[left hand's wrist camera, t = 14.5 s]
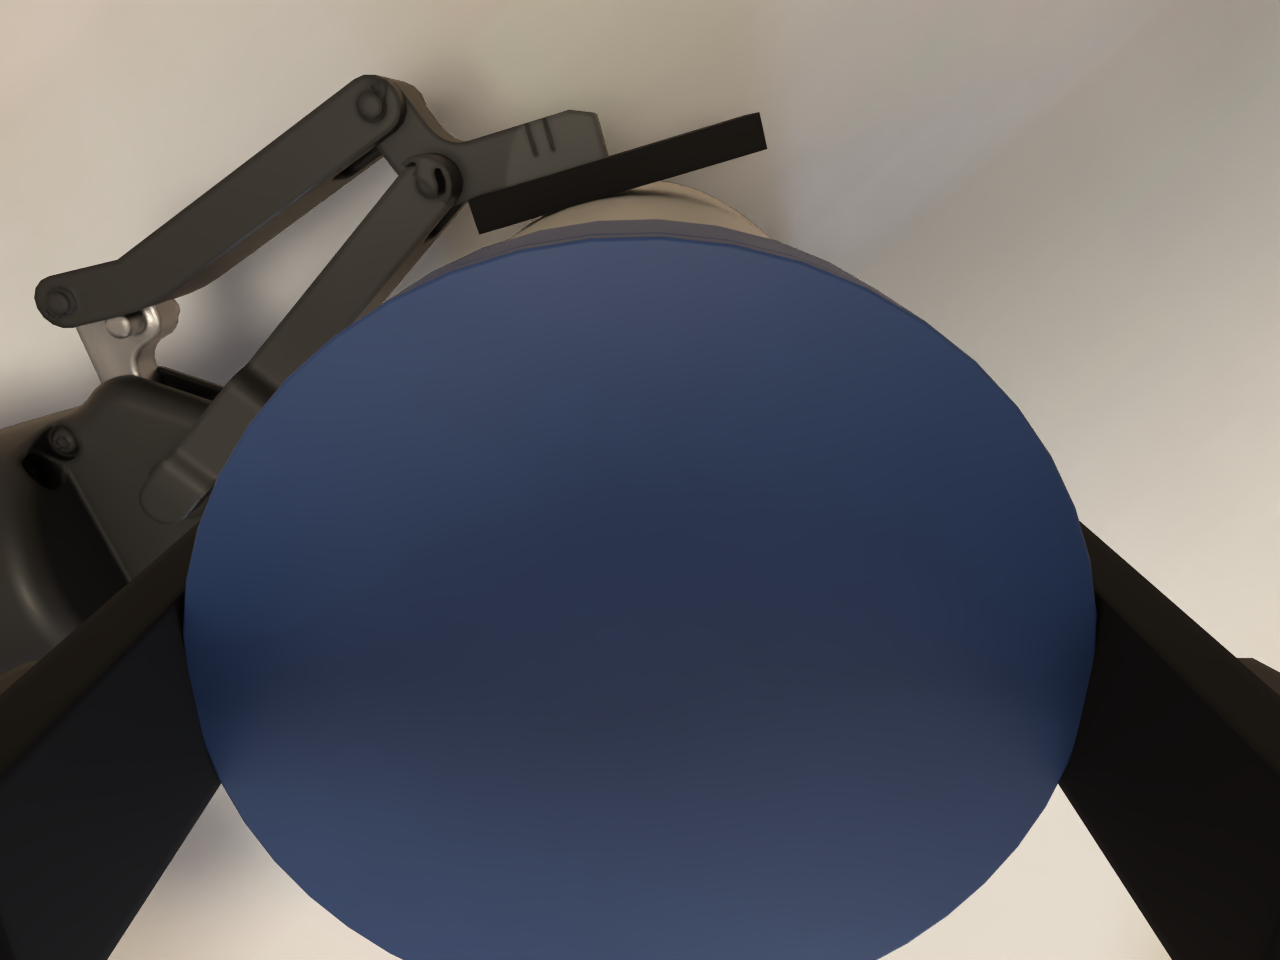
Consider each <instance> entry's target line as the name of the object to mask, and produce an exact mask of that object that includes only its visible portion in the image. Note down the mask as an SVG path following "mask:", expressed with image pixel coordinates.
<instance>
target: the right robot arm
mask: <svg viewBox="0 0 1280 960" xmlns="http://www.w3.org/2000/svg"><path fill="white" fill-rule="evenodd" d="M765 149H767V146H766V141H765V136H764V132H763V127H762V122H761V118H760V113H759V112H758V113H753V114H748V115H744V116H741V117H737V118H734V119H731V120H727V121H724V122H721V123H718V124H714V125H711V126H708V127H704V128H701V129H698V130H694V131H691V132H688V133H684V134H681V135H678V136H675V137H671V138H668V139H665V140H661V141H658V142H655V143H651V144H648V145H645V146H641V147H638V148H635V149H631V150H628V151H625V152H622V153H618V154H615V155H612V156H608V152H607V148H606V145H605V141H604V138H603V134H602V130H601V127H600V123H599V119H598V116H597V114H595V113H592V112H583V111H574V110H567V111H564V112H561V113H558V114H555V115H551V116H548V117H545V118H542V119H538V120H535V121H532V122H529V123H526V124H522V125H519V126H516V127H512V128H509V129H506V130H503V131H500V132H496V133H493V134H490V135H487V136H483V137H480V138H477V139H474V140H470V141H466V142H464V141H461V140H458V139H455V138H454V137H452V136H451V135H449V134H448V133H447V132H446V131H445V130H444V129H443V128H442V127H441V125H440V124H439V123H438V121H437V120H436V119H435V117H434V116H433V115H432V113H431V112H430V111H429V109H428V108H427V107H426V103H425V101H424V99H423V96H422V94H421V93H420V92H419V91H418V90H417V89H416V88H415V87H414V86H412V85H410V84H408V83H406V82H403V81H399V80H394V79H390V78H386V77H382V76H377V75H363V76H360V77H358V78H356V79H354V80H353V81H351V82H350V83H349V84H347V85H346V86H345V87H343V88H342V89H341V90H339V91H338V92H337V93H336V94H334V95H333V96H332V97H330V98H329V99H328V100H326V101H325V102H324V103H322V104H321V105H320V106H319V107H317V108H316V109H315V110H313V111H312V112H311V113H309V114H308V115H307V116H305V117H304V118H303V119H301V120H300V121H299V122H298V123H296V124H295V125H294V126H292V127H291V128H290V129H288V130H287V131H286V132H284V133H283V134H282V135H280V136H279V137H278V138H277V139H275V140H274V141H273V142H271V143H270V144H269V145H267V146H266V147H265V148H263V149H262V150H261V151H260V152H258V153H257V154H256V155H254V156H253V157H252V158H250V159H249V160H248V161H246V162H245V163H244V164H242V165H241V166H240V167H239V168H237V169H236V170H235V171H233V172H232V173H231V174H229V175H228V176H227V177H225V178H224V179H223V180H221V181H220V182H219V183H218V184H216V185H215V186H214V187H212V188H211V189H210V190H208V191H207V192H206V193H204V194H203V195H202V196H201V197H199V198H198V199H197V200H195V201H194V202H193V203H191V204H190V205H189V206H187V207H186V208H185V209H183V210H182V211H181V212H180V213H178V214H177V215H176V216H174V217H173V218H172V219H170V220H169V221H168V222H166V223H165V224H164V225H162V226H161V227H160V228H159V229H157V230H156V231H155V232H153V233H152V234H151V235H149V236H148V237H147V238H145V239H144V240H143V241H142V242H140V243H139V244H138V245H136V246H135V247H134V248H132V249H131V250H130V251H128V252H127V253H126V254H124V255H123V256H122V257H121V258H119V259H118V260H115V261H110V262H106V263H102V264H98V265H94V266H90V267H86V268H81V269H77V270H73V271H69V272H65V273H61V274H57V275H52V276H49V277H47V278H45V279H43V280H41V281H40V282H39V284H38V285H37V287H36V289H35V297H34V298H35V302H36V305H37V308H38V310H39V311H40V313H41V314H42V316H43V317H44V318H45V319H47V320H48V321H49V322H50V323H52V324H53V325H56V326H59V327H62V328H74V327H76V329H77V331H78V333H79V336H80V338H81V340H82V342H83V344H84V346H85V349H86V351H87V353H88V355H89V357H90V359H91V361H92V364H93V366H94V368H95V370H96V372H97V374H98V377H99V379H100V381H101V383H102V384H101V385H100V386H98V387H97V388H96V389H95V390H94V392H93V393H92V394H91V396H90V397H89V398H88V400H87V401H86V402H85V403H84V404H83V405H81V406H78V407H75V408H71V409H68V410H64V411H61V412H58V413H54V414H51V415H47V416H44V417H40V418H37V419H33V420H30V421H26V422H23V423H20V424H16V425H13V426H9V427H6V428H2V429H0V675H2V674H4V673H6V672H8V671H10V670H12V669H14V668H16V667H17V666H19V665H21V664H23V663H25V662H27V661H40V660H41V659H42V658H43V657H44V656H45V655H47V654H48V653H49V652H50V651H51V650H52V649H53V648H55V647H56V646H57V645H58V644H59V643H60V642H61V641H63V640H64V639H65V638H66V637H67V636H68V635H69V634H71V633H72V632H73V631H74V630H75V629H76V628H77V627H79V626H80V625H81V624H82V623H83V622H84V621H85V620H87V619H88V618H89V617H90V616H91V615H92V614H94V613H95V612H96V611H97V610H98V609H99V608H100V607H102V606H103V605H104V604H105V603H106V602H107V601H108V600H110V599H111V598H112V597H113V596H114V595H115V594H116V593H118V592H119V591H120V590H121V589H122V588H123V587H124V586H126V585H127V584H128V583H129V582H130V581H131V580H132V579H134V578H135V577H136V576H137V575H138V574H139V573H141V572H142V571H143V570H144V569H145V568H146V567H147V566H149V565H150V564H151V563H152V562H153V561H154V560H155V559H157V558H158V557H159V556H160V555H161V554H162V553H163V552H165V551H166V550H167V549H168V548H169V547H170V546H171V545H173V544H174V543H175V542H176V541H177V540H178V539H179V538H181V537H182V536H183V535H184V534H185V533H186V532H187V531H189V530H190V529H191V528H192V527H193V526H194V525H196V524H197V523H198V522H199V521H200V520H201V518H202V515H203V513H204V510H205V508H206V505H207V503H208V500H209V498H210V495H211V492H212V490H213V487H214V485H215V482H216V480H217V477H218V475H219V473H220V472H221V470H222V468H223V467H224V465H225V463H226V461H227V460H228V458H229V456H230V455H231V453H232V451H233V450H234V448H235V446H236V445H237V443H238V441H239V439H240V438H241V436H242V434H243V433H244V431H245V429H246V428H247V426H248V425H249V423H250V422H251V421H252V420H253V418H254V417H255V416H256V415H257V414H258V412H259V411H260V410H261V409H262V408H263V406H264V405H265V404H266V403H267V401H268V400H269V399H270V398H271V397H272V395H273V394H274V393H275V392H276V391H277V389H278V388H279V387H280V386H281V384H282V383H283V382H284V381H285V380H286V378H288V377H289V376H290V375H291V374H292V373H293V372H294V371H295V370H296V369H298V368H299V367H300V366H301V365H302V364H303V363H304V362H305V361H307V360H308V359H309V358H310V357H311V356H312V355H313V354H314V353H315V352H317V351H318V350H319V349H320V348H321V347H322V346H323V345H324V344H326V343H327V342H328V341H329V340H330V339H331V338H332V337H333V336H335V335H336V334H338V333H339V332H341V331H342V330H344V329H345V328H347V327H348V326H350V325H351V324H353V323H354V322H356V321H357V320H359V319H360V318H362V317H364V316H365V315H367V314H368V313H370V312H371V311H373V310H374V309H376V308H377V307H379V306H380V305H381V304H382V303H383V302H384V300H385V299H386V298H387V297H388V296H389V294H390V293H391V292H392V291H393V290H394V288H395V287H396V286H397V285H398V284H399V283H400V281H401V280H402V279H403V278H404V277H405V275H406V274H407V273H408V272H409V271H410V269H411V268H412V267H413V266H414V265H415V263H416V262H417V261H418V260H419V259H420V258H421V256H422V255H423V254H424V253H425V252H426V250H427V249H428V248H429V247H430V246H431V244H432V243H433V242H434V241H435V240H436V238H437V237H438V236H439V235H440V234H441V233H442V231H443V230H444V229H445V228H446V227H447V225H448V224H449V223H450V222H451V221H452V219H453V218H454V217H455V216H456V215H457V213H458V212H459V211H460V210H461V209H462V208H463V206H464V205H465V204H466V203H467V202H469V205H470V208H471V211H472V214H473V217H474V220H475V223H476V226H477V229H478V232H479V234H483V233H486V232H489V231H493V230H496V229H499V228H503V227H506V226H510V225H513V224H516V223H520V222H523V221H526V220H530V219H533V218H536V217H540V216H543V215H546V214H550V213H553V212H557V211H560V210H563V209H567V208H569V207H573V206H577V205H580V204H583V203H587V202H590V201H594V200H597V199H600V198H604V197H607V196H610V195H614V194H617V193H620V192H624V191H627V190H631V189H634V188H637V187H641V186H644V185H647V184H651V183H654V182H657V181H661V180H664V179H668V178H671V177H674V176H678V175H681V174H684V173H688V172H691V171H694V170H698V169H701V168H705V167H708V166H711V165H715V164H718V163H721V162H725V161H728V160H731V159H735V158H738V157H742V156H745V155H748V154H752V153H755V152H758V151H762V150H765ZM382 157H385V159H386V160H387V161H388V163H389V164H390V165H391V166H392V168H393V169H394V170H395V172H396V173H397V174H398V175H399V176H398V177H397V179H396V180H395V181H394V182H393V184H392V185H391V186H390V187H389V189H388V190H387V191H386V192H385V194H384V195H383V196H382V197H381V198H380V200H379V201H378V202H377V203H376V205H375V206H374V207H373V208H372V210H371V211H370V212H369V213H368V215H367V216H366V217H365V218H364V220H363V221H362V222H361V223H360V225H359V226H358V227H357V228H356V230H355V231H354V232H353V233H352V235H351V236H350V237H349V238H348V240H347V241H346V242H345V243H344V244H343V246H342V247H341V248H340V249H339V251H338V252H337V253H336V254H335V256H334V257H333V258H332V259H331V261H330V262H329V263H328V264H327V266H326V267H325V268H324V269H323V271H322V272H321V273H320V274H319V276H318V277H317V278H316V279H315V281H314V282H313V283H312V284H311V286H310V287H309V288H308V289H307V290H306V292H305V293H304V294H303V295H302V297H301V298H300V299H299V300H298V302H297V303H296V304H295V305H294V307H293V308H292V309H291V310H290V312H289V313H288V314H287V315H286V317H285V318H284V319H283V320H282V322H281V323H280V324H279V325H278V327H277V328H276V329H275V330H274V332H273V333H272V334H271V335H270V336H269V338H268V339H267V340H266V341H265V343H264V344H263V345H262V346H261V348H260V349H259V350H258V351H257V353H256V354H255V355H254V356H253V358H252V359H251V360H250V361H249V362H248V363H247V364H246V365H245V367H243V368H242V369H241V370H240V371H239V372H238V373H237V374H236V375H235V376H234V377H233V378H232V379H231V380H230V381H229V382H228V383H227V384H226V385H225V386H224V387H223V386H220V385H217V384H214V383H211V382H208V381H205V380H202V379H199V378H196V377H193V376H190V375H187V374H184V373H181V372H178V371H175V370H172V369H169V368H166V367H162V366H157V363H156V360H155V348H156V346H157V344H158V342H159V341H160V340H161V339H162V338H164V337H165V336H167V335H169V334H170V333H172V332H173V331H174V330H175V328H176V327H177V324H178V316H179V313H180V308H179V305H178V303H177V302H176V300H174V299H175V298H178V297H181V296H183V295H186V294H189V293H191V292H194V291H196V290H198V289H200V288H202V287H204V286H206V285H208V284H209V283H211V282H212V281H214V280H215V279H217V278H219V277H220V276H221V275H223V274H224V273H225V272H227V271H228V270H230V269H231V268H232V267H234V266H235V265H236V264H238V263H239V262H240V261H242V260H243V259H245V258H246V257H247V256H249V255H250V254H251V253H253V252H254V251H255V250H257V249H258V248H260V247H261V246H262V245H264V244H265V243H266V242H268V241H269V240H270V239H272V238H273V237H275V236H276V235H277V234H279V233H280V232H281V231H283V230H284V229H285V228H287V227H288V226H290V225H291V224H292V223H294V222H295V221H296V220H298V219H299V218H300V217H302V216H303V215H305V214H306V213H307V212H309V211H310V210H311V209H313V208H314V207H315V206H317V205H318V204H320V203H321V202H322V201H324V200H325V199H326V198H328V197H329V196H330V195H332V194H333V193H335V192H336V191H337V190H339V189H340V188H341V187H343V186H344V185H345V184H347V183H348V182H349V181H351V180H352V179H354V178H355V177H356V176H358V175H359V174H360V173H362V172H363V171H364V170H366V169H367V168H369V167H370V166H371V165H373V164H374V163H375V162H377V161H378V160H379V159H381V158H382Z"/></svg>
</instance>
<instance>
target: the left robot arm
mask: <svg viewBox="0 0 1280 960" xmlns="http://www.w3.org/2000/svg"><path fill="white" fill-rule="evenodd" d="M200 521H201V520H200ZM200 521H199V522H198V523H197V524H196V525H194V526H193V527H192V528H191V529H190V530H189V531H187V532H186V533H185V534H184V535H183V536H182V537H181V538H179V539H178V540H177V541H176V542H175V543H174V544H173V545H171V546H170V547H169V548H168V549H167V550H166V551H165V552H163V553H162V554H161V555H160V556H159V557H158V558H157V559H155V560H154V561H153V562H152V563H151V564H150V565H149V566H147V567H146V568H145V569H144V570H143V571H142V572H141V573H139V574H138V575H137V576H136V577H135V578H134V579H132V580H131V581H130V582H129V583H128V584H127V585H126V586H124V587H123V588H122V589H121V590H120V591H119V592H118V593H116V594H115V595H114V596H113V597H112V598H111V599H110V600H108V601H107V602H106V603H105V604H104V605H103V606H102V607H100V608H99V609H98V610H97V611H96V612H95V613H94V614H92V615H91V616H90V617H89V618H88V619H87V620H85V621H84V622H83V623H82V624H81V625H80V626H79V627H77V628H76V629H75V630H74V631H73V632H72V633H71V634H69V635H68V636H67V637H66V638H65V639H64V640H63V641H61V642H60V643H59V644H58V645H57V646H56V647H55V648H53V649H52V650H51V651H50V652H49V653H48V654H47V655H45V656H44V657H43V658H42V659H41V660H40V661H27V662H25V663H23V664H21V665H19V666H17V667H16V668H14V669H12V670H10V671H8V672H6V673H4V674H2V675H0V960H107V959H108V957H109V956H110V954H111V953H112V951H113V950H114V948H115V947H116V945H117V944H118V942H119V940H120V939H121V937H122V936H123V934H124V933H125V931H126V930H127V928H128V927H129V925H130V923H131V922H132V920H133V919H134V917H135V916H136V914H137V913H138V911H139V910H140V908H141V906H142V905H143V903H144V902H145V900H146V899H147V897H148V896H149V894H150V893H151V891H152V889H153V888H154V886H155V885H156V883H157V882H158V880H159V879H160V877H161V876H162V874H163V872H164V871H165V869H166V868H167V866H168V865H169V863H170V862H171V860H172V859H173V857H174V855H175V854H176V852H177V851H178V849H179V848H180V846H181V845H182V843H183V842H184V840H185V838H186V837H187V835H188V834H189V832H190V831H191V829H192V828H193V826H194V825H195V823H196V821H197V820H198V818H199V817H200V815H201V814H202V812H203V811H204V809H205V808H206V806H207V804H208V803H209V801H210V800H211V798H212V797H213V795H214V794H215V792H216V791H217V789H218V787H219V786H220V784H221V781H220V780H219V777H218V775H217V772H216V770H215V768H214V765H213V763H212V760H211V758H210V756H209V753H208V751H207V748H206V745H205V741H204V738H203V734H202V729H201V725H200V720H199V716H198V711H197V707H196V702H195V698H194V694H193V689H192V685H191V680H190V676H189V671H188V666H187V661H186V655H185V650H184V640H183V626H184V608H185V590H186V579H187V574H188V570H189V565H190V560H191V556H192V551H193V547H194V542H195V538H196V533H197V528H198V526H199V523H200ZM1079 523H1080V526H1081V530H1082V533H1083V537H1084V540H1085V544H1086V547H1087V551H1088V554H1089V558H1090V562H1091V571H1092V579H1093V588H1094V596H1095V605H1096V613H1097V619H1096V645H1095V654H1094V659H1093V665H1092V669H1091V674H1090V678H1089V683H1088V687H1087V692H1086V696H1085V701H1084V705H1083V710H1082V714H1081V718H1080V723H1079V727H1078V732H1077V736H1076V740H1075V744H1074V748H1073V751H1072V754H1071V757H1070V760H1069V763H1068V765H1067V767H1066V769H1065V770H1064V772H1063V774H1062V776H1061V778H1060V780H1059V782H1058V784H1059V786H1060V787H1061V789H1062V790H1063V792H1064V793H1065V795H1066V796H1067V798H1068V800H1069V801H1070V803H1071V804H1072V806H1073V807H1074V809H1075V810H1076V812H1077V814H1078V815H1079V817H1080V818H1081V820H1082V821H1083V823H1084V824H1085V826H1086V827H1087V829H1088V831H1089V832H1090V834H1091V835H1092V837H1093V838H1094V840H1095V841H1096V843H1097V844H1098V846H1099V848H1100V849H1101V851H1102V852H1103V854H1104V855H1105V857H1106V858H1107V860H1108V861H1109V863H1110V865H1111V866H1112V868H1113V869H1114V871H1115V872H1116V874H1117V875H1118V877H1119V878H1120V880H1121V882H1122V883H1123V885H1124V886H1125V888H1126V889H1127V891H1128V892H1129V894H1130V895H1131V897H1132V899H1133V900H1134V902H1135V903H1136V905H1137V906H1138V908H1139V909H1140V911H1141V912H1142V914H1143V916H1144V917H1145V919H1146V920H1147V922H1148V923H1149V925H1150V926H1151V928H1152V929H1153V931H1154V933H1155V934H1156V936H1157V937H1158V939H1159V940H1160V942H1161V943H1162V945H1163V946H1164V948H1165V950H1166V951H1167V953H1168V954H1169V956H1170V957H1171V959H1172V960H1280V672H1278V671H1276V670H1274V669H1272V668H1270V667H1268V666H1267V665H1265V664H1263V663H1261V662H1259V661H1257V660H1255V659H1253V658H1236V657H1235V656H1234V655H1232V654H1231V653H1230V652H1229V651H1228V650H1227V649H1226V648H1224V647H1223V646H1222V645H1221V644H1220V643H1219V642H1218V641H1216V640H1215V639H1214V638H1213V637H1212V636H1211V635H1210V634H1208V633H1207V632H1206V631H1205V630H1204V629H1203V628H1202V627H1200V626H1199V625H1198V624H1197V623H1196V622H1195V621H1194V620H1192V619H1191V618H1190V617H1189V616H1188V615H1187V614H1186V613H1184V612H1183V611H1182V610H1181V609H1180V608H1179V607H1178V606H1176V605H1175V604H1174V603H1173V602H1172V601H1171V600H1169V599H1168V598H1167V597H1166V596H1165V595H1164V594H1163V593H1161V592H1160V591H1159V590H1158V589H1157V588H1156V587H1155V586H1153V585H1152V584H1151V583H1150V582H1149V581H1148V580H1147V579H1145V578H1144V577H1143V576H1142V575H1141V574H1140V573H1139V572H1137V571H1136V570H1135V569H1134V568H1133V567H1132V566H1131V565H1129V564H1128V563H1127V562H1126V561H1125V560H1124V559H1123V558H1121V557H1120V556H1119V555H1118V554H1117V553H1116V552H1114V551H1113V550H1112V549H1111V548H1110V547H1109V546H1108V545H1106V544H1105V543H1104V542H1103V541H1102V540H1101V539H1100V538H1098V537H1097V536H1096V535H1095V534H1094V533H1093V532H1092V531H1090V530H1089V529H1088V528H1087V527H1086V526H1085V525H1084V524H1082V523H1081V522H1080V521H1079Z"/></svg>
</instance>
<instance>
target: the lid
mask: <svg viewBox="0 0 1280 960" xmlns="http://www.w3.org/2000/svg"><path fill="white" fill-rule="evenodd" d="M1096 619H1097V613H1096V605H1095V596H1094V588H1093V579H1092V571H1091V562H1090V558H1089V554H1088V551H1087V547H1086V544H1085V540H1084V537H1083V533H1082V530H1081V526H1080V523H1079V519H1078V516H1077V512H1076V509H1075V506H1074V504H1073V502H1072V500H1071V498H1070V495H1069V493H1068V491H1067V489H1066V487H1065V485H1064V483H1063V480H1062V478H1061V476H1060V474H1059V472H1058V470H1057V468H1056V465H1055V463H1054V461H1053V459H1052V457H1051V455H1050V454H1049V452H1048V451H1047V449H1046V448H1045V446H1044V445H1043V443H1042V442H1041V440H1040V439H1039V437H1038V436H1037V434H1036V433H1035V431H1034V430H1033V428H1032V427H1031V426H1030V424H1029V423H1028V421H1027V420H1026V418H1025V417H1024V415H1023V414H1022V412H1021V411H1020V409H1019V408H1018V406H1017V405H1016V404H1015V403H1014V402H1013V401H1012V400H1011V399H1010V398H1009V397H1008V396H1007V395H1006V394H1005V392H1004V391H1003V390H1002V389H1001V388H1000V387H999V386H998V385H997V384H996V383H995V382H994V381H993V380H992V378H991V377H990V376H989V375H988V374H987V373H986V372H985V371H984V370H983V369H982V368H981V367H980V366H979V365H978V363H977V362H976V361H974V360H973V359H972V358H971V357H969V356H968V355H967V354H966V353H964V352H963V351H962V350H961V349H959V348H958V347H957V346H956V345H954V344H953V343H952V342H951V341H949V340H948V339H947V338H946V337H944V336H943V335H942V334H941V333H939V332H938V331H937V330H935V329H934V328H933V327H932V326H930V325H929V324H928V323H927V322H925V321H924V320H922V319H921V318H919V317H918V316H916V315H915V314H913V313H912V312H910V311H909V310H907V309H905V308H904V307H902V306H901V305H899V304H898V303H896V302H895V301H893V300H892V299H890V298H889V297H887V296H885V295H884V294H882V293H881V292H879V291H878V290H876V289H874V288H873V287H871V286H869V285H867V284H866V283H864V282H862V281H861V280H859V279H857V278H855V277H854V276H852V275H850V274H848V273H847V272H845V271H843V270H842V269H840V268H838V267H836V266H835V265H833V264H831V263H830V262H827V261H825V260H823V259H820V258H818V257H815V256H813V255H810V254H808V253H805V252H803V251H800V250H798V249H795V248H793V247H790V246H788V245H786V244H783V243H781V242H778V241H776V240H772V239H768V238H764V237H760V236H756V235H752V234H748V233H744V232H740V231H736V230H733V229H729V228H725V227H721V226H716V225H706V224H697V223H688V222H679V221H670V220H661V219H646V220H609V221H594V222H588V223H582V224H576V225H569V226H563V227H557V228H551V229H545V230H539V231H536V232H533V233H530V234H526V235H523V236H520V237H517V238H513V239H510V240H507V241H504V242H501V243H497V244H494V245H491V246H488V247H484V248H482V249H480V250H478V251H476V252H473V253H471V254H469V255H467V256H465V257H463V258H461V259H459V260H456V261H454V262H452V263H450V264H448V265H446V266H444V267H442V268H439V269H437V270H435V271H433V272H431V273H430V274H428V275H426V276H425V277H423V278H422V279H420V280H419V281H417V282H416V283H414V284H413V285H411V286H409V287H408V288H406V289H405V290H403V291H402V292H400V293H399V294H397V295H396V296H394V297H392V298H391V299H389V300H388V301H386V302H385V303H383V304H382V305H380V306H379V307H377V308H376V309H374V310H373V311H371V312H370V313H368V314H367V315H365V316H364V317H362V318H360V319H359V320H357V321H356V322H354V323H353V324H351V325H350V326H348V327H347V328H345V329H344V330H342V331H341V332H339V333H338V334H336V335H335V336H333V337H332V338H331V339H330V340H329V341H328V342H327V343H326V344H324V345H323V346H322V347H321V348H320V349H319V350H318V351H317V352H315V353H314V354H313V355H312V356H311V357H310V358H309V359H308V360H307V361H305V362H304V363H303V364H302V365H301V366H300V367H299V368H298V369H296V370H295V371H294V372H293V373H292V374H291V375H290V376H289V377H288V378H286V380H285V381H284V382H283V383H282V384H281V386H280V387H279V388H278V389H277V391H276V392H275V393H274V394H273V395H272V397H271V398H270V399H269V400H268V401H267V403H266V404H265V405H264V406H263V408H262V409H261V410H260V411H259V412H258V414H257V415H256V416H255V417H254V418H253V420H252V421H251V422H250V423H249V425H248V426H247V428H246V429H245V431H244V433H243V434H242V436H241V438H240V439H239V441H238V443H237V445H236V446H235V448H234V450H233V451H232V453H231V455H230V456H229V458H228V460H227V461H226V463H225V465H224V467H223V468H222V470H221V472H220V473H219V475H218V477H217V480H216V482H215V485H214V487H213V490H212V492H211V495H210V498H209V500H208V503H207V505H206V508H205V510H204V513H203V515H202V518H201V521H200V523H199V526H198V528H197V533H196V538H195V542H194V547H193V551H192V556H191V560H190V565H189V570H188V574H187V579H186V590H185V608H184V626H183V640H184V650H185V655H186V661H187V666H188V671H189V676H190V680H191V685H192V689H193V694H194V698H195V702H196V707H197V711H198V716H199V720H200V725H201V729H202V734H203V738H204V741H205V745H206V748H207V751H208V753H209V756H210V758H211V760H212V763H213V765H214V768H215V770H216V772H217V775H218V777H219V780H220V781H221V783H222V785H223V787H224V788H225V790H226V792H227V793H228V795H229V797H230V799H231V800H232V802H233V804H234V805H235V807H236V809H237V810H238V812H239V814H240V816H241V817H242V819H243V821H244V822H245V824H246V825H247V826H248V828H249V829H250V830H251V831H252V833H253V834H254V835H255V837H256V838H257V839H258V840H259V842H260V843H261V844H262V846H263V847H264V848H265V849H266V851H267V852H268V853H269V855H270V856H271V857H272V858H273V860H274V861H275V862H276V863H277V864H278V865H279V866H280V867H281V868H282V869H283V870H284V871H285V872H286V873H287V874H288V875H289V876H290V877H291V878H292V879H293V880H294V881H295V882H296V883H297V884H298V885H299V886H300V887H301V888H302V889H303V890H304V891H305V892H306V893H307V894H308V895H309V896H310V897H311V898H312V899H314V900H315V901H316V902H317V903H319V904H320V905H321V906H322V907H324V908H325V909H326V910H327V911H329V912H330V913H331V914H332V915H334V916H335V917H336V918H337V919H339V920H340V921H341V922H342V923H344V924H345V925H346V926H347V927H349V928H351V929H352V930H354V931H355V932H357V933H359V934H360V935H362V936H363V937H365V938H366V939H368V940H370V941H371V942H373V943H374V944H376V945H378V946H379V947H381V948H382V949H384V950H385V951H387V952H389V953H390V954H392V955H395V956H397V957H399V958H401V959H403V960H878V959H880V958H881V957H883V956H885V955H887V954H889V953H891V952H892V951H894V950H896V949H898V948H900V947H902V946H903V945H905V944H907V943H909V942H910V941H911V940H913V939H914V938H916V937H917V936H919V935H920V934H922V933H923V932H924V931H926V930H927V929H929V928H930V927H932V926H933V925H935V924H936V923H938V922H939V921H940V920H942V919H943V918H945V917H946V916H948V915H949V914H950V913H951V912H952V911H953V910H955V909H956V908H957V907H958V906H959V905H960V904H961V903H963V902H964V901H965V900H966V899H967V898H968V897H969V896H971V895H972V894H973V893H974V892H975V891H976V890H977V889H979V888H980V887H981V886H982V885H983V884H984V883H985V882H986V881H987V880H988V879H989V878H990V877H991V876H992V875H993V873H994V872H995V871H996V870H997V869H998V868H999V867H1000V866H1001V865H1002V864H1003V862H1004V861H1005V860H1006V859H1007V858H1008V857H1009V856H1010V855H1011V854H1012V852H1013V851H1014V850H1015V849H1016V848H1017V847H1018V846H1019V844H1020V843H1021V841H1022V840H1023V838H1024V837H1025V836H1026V834H1027V833H1028V831H1029V830H1030V828H1031V827H1032V826H1033V824H1034V823H1035V821H1036V820H1037V818H1038V817H1039V816H1040V814H1041V813H1042V811H1043V810H1044V808H1045V807H1046V805H1047V803H1048V801H1049V799H1050V797H1051V796H1052V794H1053V792H1054V790H1055V788H1056V786H1057V784H1058V782H1059V780H1060V778H1061V776H1062V774H1063V772H1064V770H1065V769H1066V767H1067V765H1068V763H1069V760H1070V757H1071V754H1072V751H1073V748H1074V744H1075V740H1076V736H1077V732H1078V727H1079V723H1080V718H1081V714H1082V710H1083V705H1084V701H1085V696H1086V692H1087V687H1088V683H1089V678H1090V674H1091V669H1092V665H1093V659H1094V654H1095V645H1096Z"/></svg>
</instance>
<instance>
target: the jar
mask: <svg viewBox="0 0 1280 960" xmlns="http://www.w3.org/2000/svg"><path fill="white" fill-rule="evenodd" d="M646 219H661V220H670V221H679V222H688V223H697V224H706V225H716V226H721V227H725V228H729V229H733V230H736V231H740V232H744V233H748V234H752V235H756V236H760V237H764V238H768V239H771V238H770V237H769V236H767V235H766V234H765V233H763V232H762V231H761V230H760V229H758V228H757V227H756V226H754V225H753V224H752V223H751V222H749V221H748V220H747V219H745V218H744V217H743V216H742V215H740V214H739V213H738V212H736V211H735V210H733V209H732V208H730V207H729V206H727V205H726V204H724V203H722V202H721V201H719V200H718V199H716V198H713V197H711V196H709V195H707V194H705V193H703V192H700V191H698V190H695V189H692V188H689V187H685V186H682V185H679V184H674V183H668V182H661V181H657V182H654V183H651V184H647V185H644V186H641V187H637V188H634V189H631V190H627V191H624V192H620V193H617V194H614V195H610V196H607V197H604V198H600V199H597V200H594V201H590V202H587V203H583V204H580V205H577V206H573V207H569V208H567V209H563V210H560V211H557V212H553V213H550V214H546V215H543V216H540V217H538V218H536V219H535V220H534V221H533V222H531V223H530V224H529V225H527V226H526V227H525V228H524V229H522V230H521V231H520V232H518V233H517V234H516V235H514V236H513V237H512V238H511V239H513V238H517V237H520V236H523V235H526V234H530V233H533V232H536V231H539V230H545V229H551V228H557V227H563V226H569V225H576V224H582V223H588V222H594V221H609V220H646ZM509 240H510V239H509Z"/></svg>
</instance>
